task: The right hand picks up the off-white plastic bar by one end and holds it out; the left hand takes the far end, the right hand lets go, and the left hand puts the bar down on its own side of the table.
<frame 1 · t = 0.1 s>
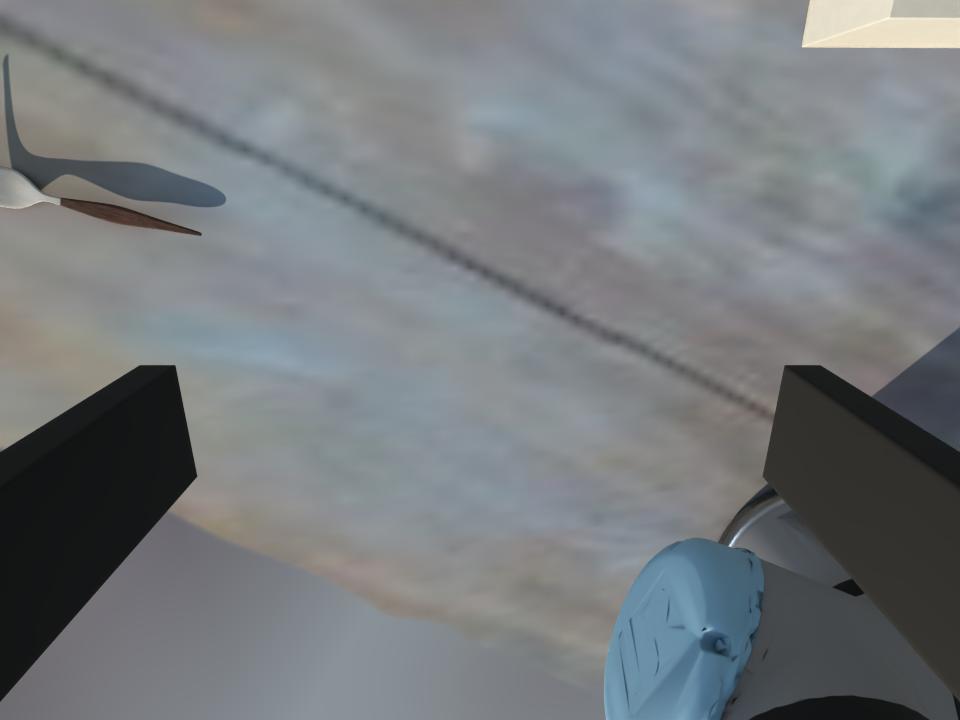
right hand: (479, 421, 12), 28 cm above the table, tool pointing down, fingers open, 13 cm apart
fork: (86, 204, 38), on the table
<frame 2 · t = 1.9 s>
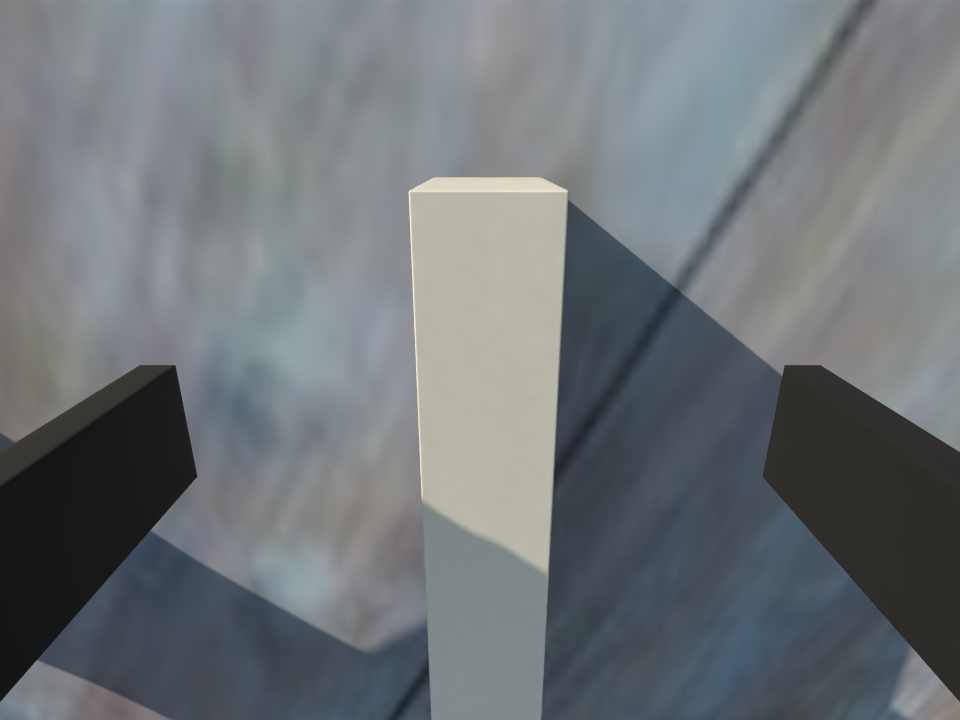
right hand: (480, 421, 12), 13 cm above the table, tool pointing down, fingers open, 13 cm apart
bar: (486, 492, 28), on the table
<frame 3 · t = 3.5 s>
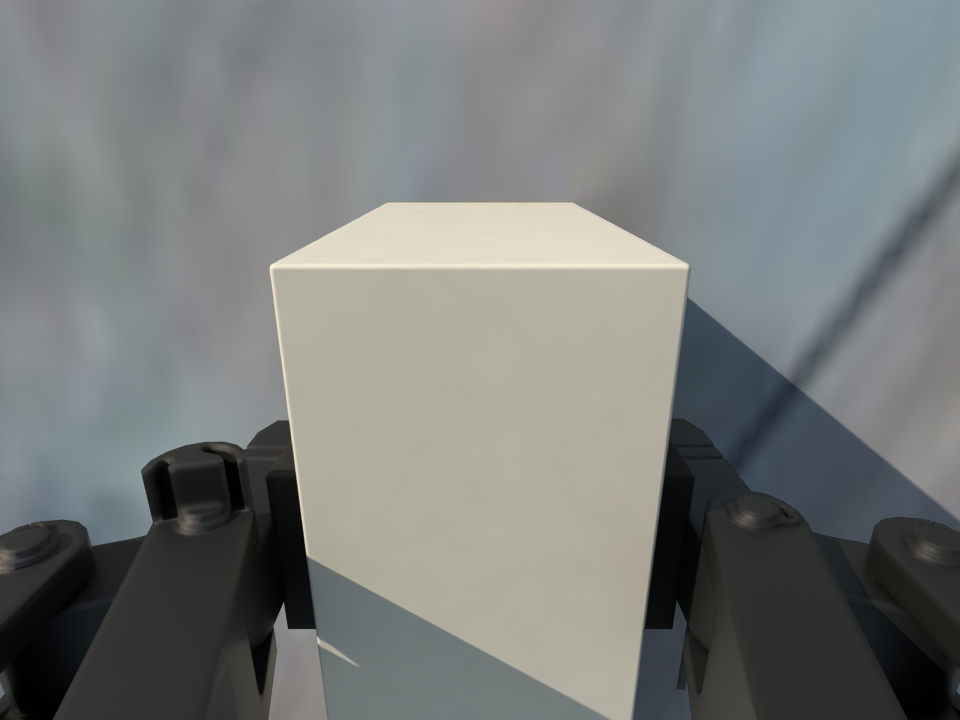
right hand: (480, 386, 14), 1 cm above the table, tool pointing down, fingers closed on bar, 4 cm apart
bar: (480, 678, 19), on the table, touching right hand
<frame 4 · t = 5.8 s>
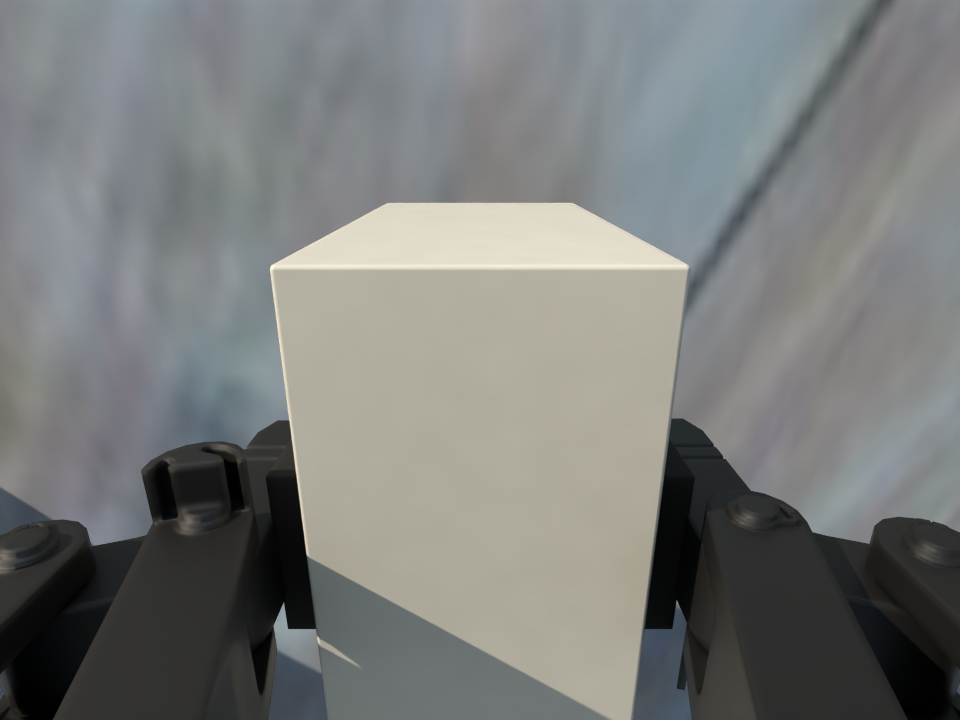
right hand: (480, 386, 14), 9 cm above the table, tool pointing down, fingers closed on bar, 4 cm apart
bar: (480, 678, 19), point 9 cm above the table, touching right hand
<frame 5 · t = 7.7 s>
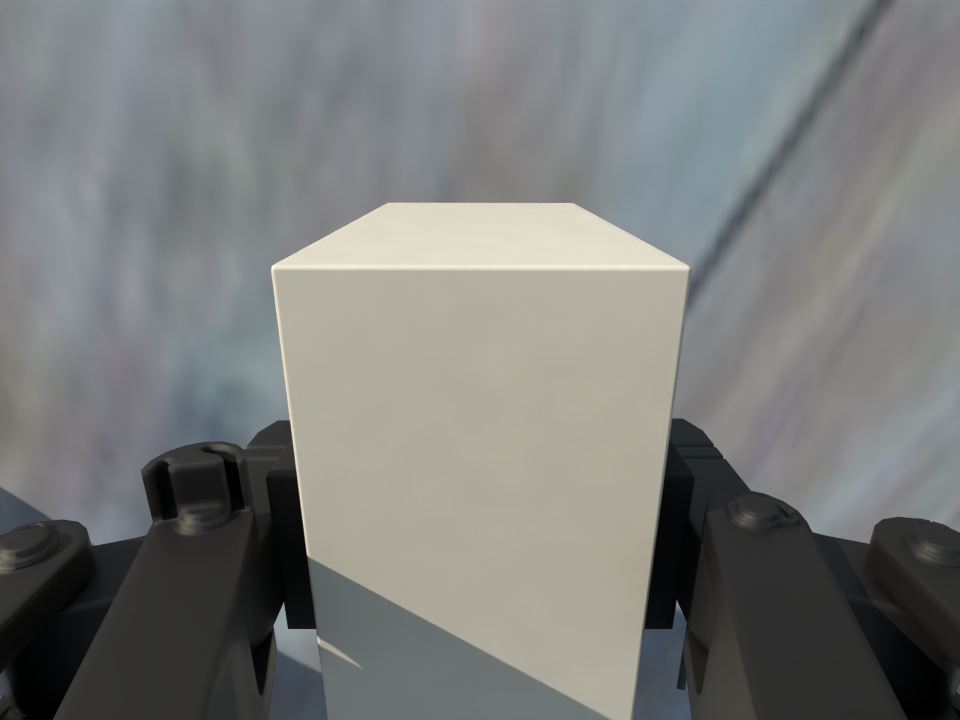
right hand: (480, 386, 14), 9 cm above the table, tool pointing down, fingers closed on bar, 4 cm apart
bar: (479, 678, 19), point 9 cm above the table, touching right hand, left hand
when the right hand's fingers open (9 cm above the table, at t = 8.4 s): bar stays where it is, held by the left hand.
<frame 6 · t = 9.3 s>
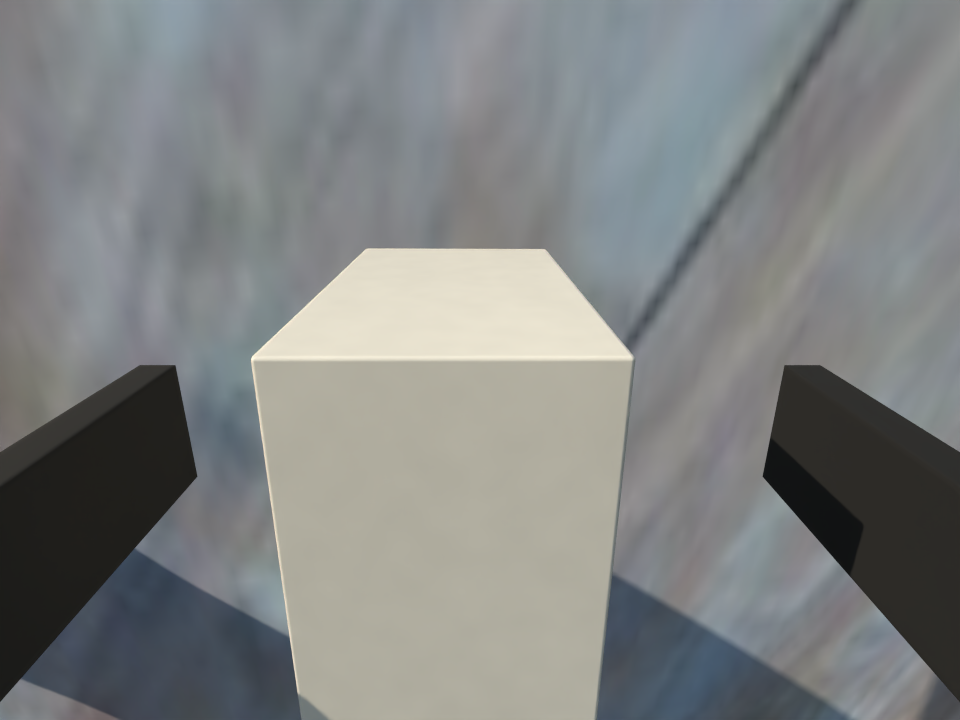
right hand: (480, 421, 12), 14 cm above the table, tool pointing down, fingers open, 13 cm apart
bar: (459, 697, 19), point 11 cm above the table, touching left hand
when the left hand's fingers open (2 cm above the table, at t = 12.4 s): bar drops 1 cm, on the table.
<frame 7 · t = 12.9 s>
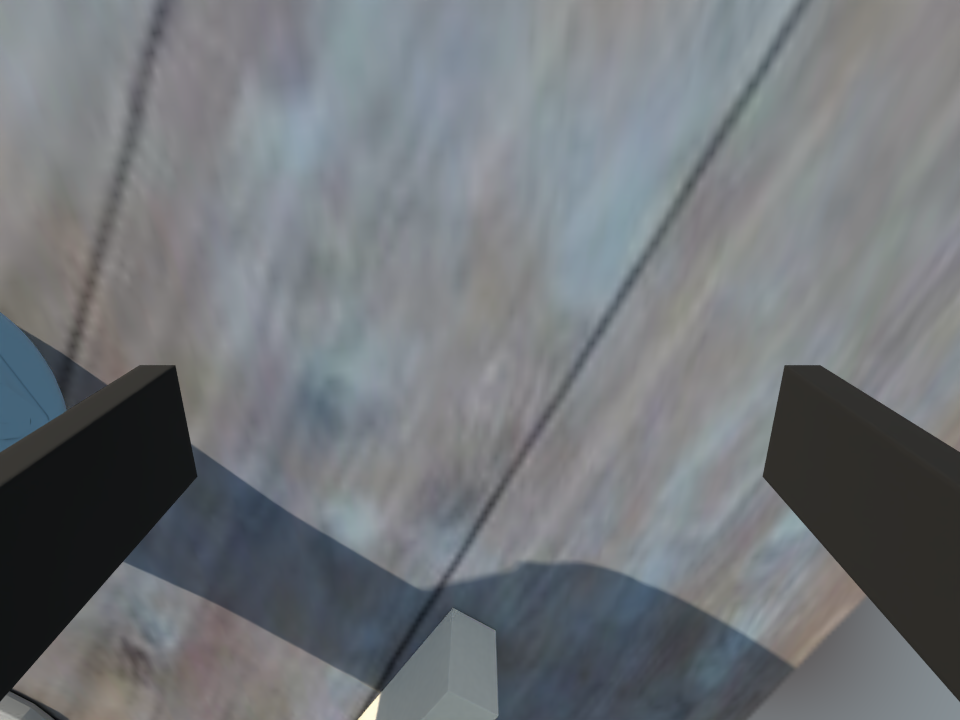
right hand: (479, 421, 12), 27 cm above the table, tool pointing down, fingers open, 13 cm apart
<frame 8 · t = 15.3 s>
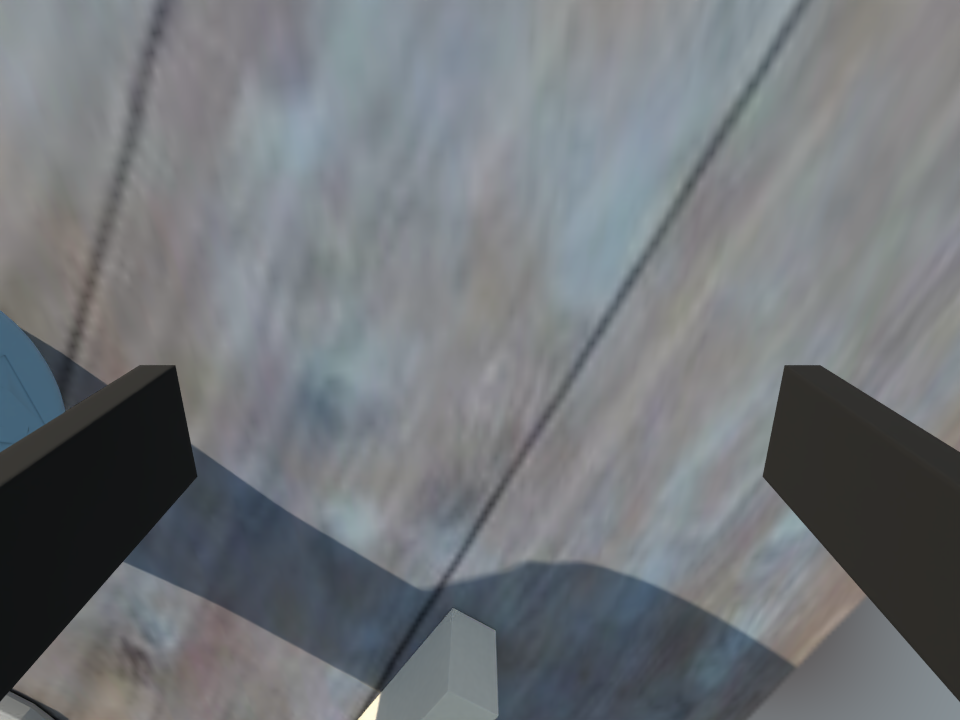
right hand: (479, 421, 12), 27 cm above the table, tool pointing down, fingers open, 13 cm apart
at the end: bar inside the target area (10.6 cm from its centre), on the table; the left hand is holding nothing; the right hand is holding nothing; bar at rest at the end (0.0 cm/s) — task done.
